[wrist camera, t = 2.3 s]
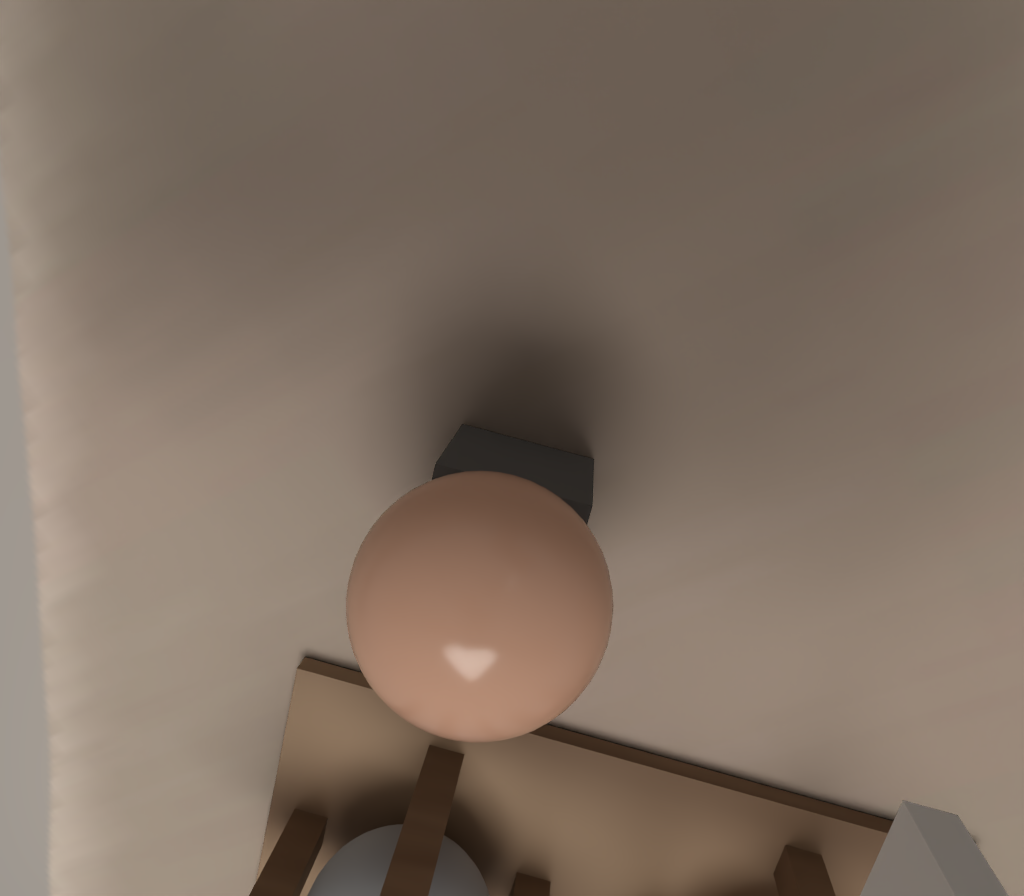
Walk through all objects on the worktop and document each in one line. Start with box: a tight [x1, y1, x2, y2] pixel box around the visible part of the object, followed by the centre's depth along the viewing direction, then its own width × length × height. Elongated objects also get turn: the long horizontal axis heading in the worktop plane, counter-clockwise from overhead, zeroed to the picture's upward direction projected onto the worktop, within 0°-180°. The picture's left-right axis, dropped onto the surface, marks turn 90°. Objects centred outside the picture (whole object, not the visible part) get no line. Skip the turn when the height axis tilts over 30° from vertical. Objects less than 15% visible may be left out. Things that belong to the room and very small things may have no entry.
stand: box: [432, 424, 594, 525], centre depth 19 cm, size 3×3×4 cm
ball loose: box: [346, 471, 613, 742], centre depth 15 cm, size 5×5×5 cm
